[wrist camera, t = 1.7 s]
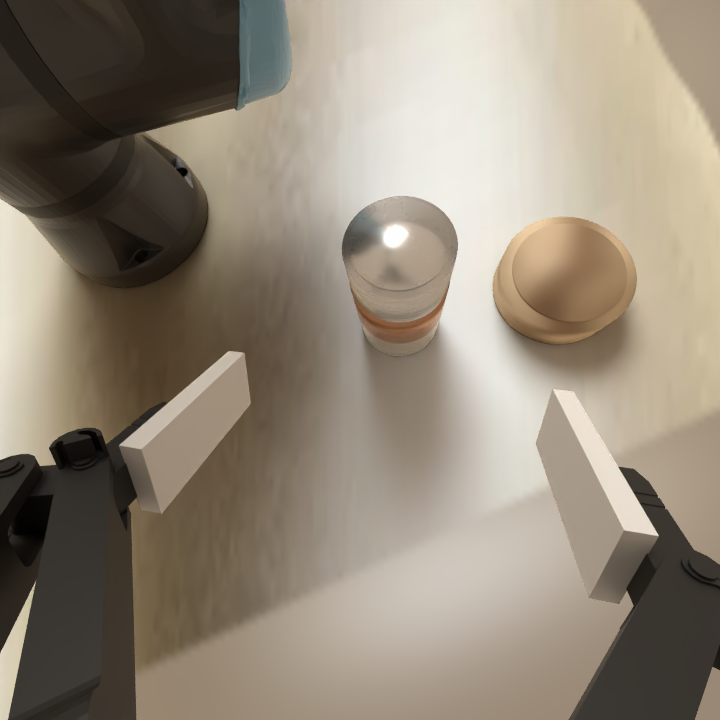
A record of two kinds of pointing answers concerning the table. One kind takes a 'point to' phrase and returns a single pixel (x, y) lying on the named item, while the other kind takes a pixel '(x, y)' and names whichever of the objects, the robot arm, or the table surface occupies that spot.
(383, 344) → the can
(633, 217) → the table surface
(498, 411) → the table surface
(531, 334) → the stand
